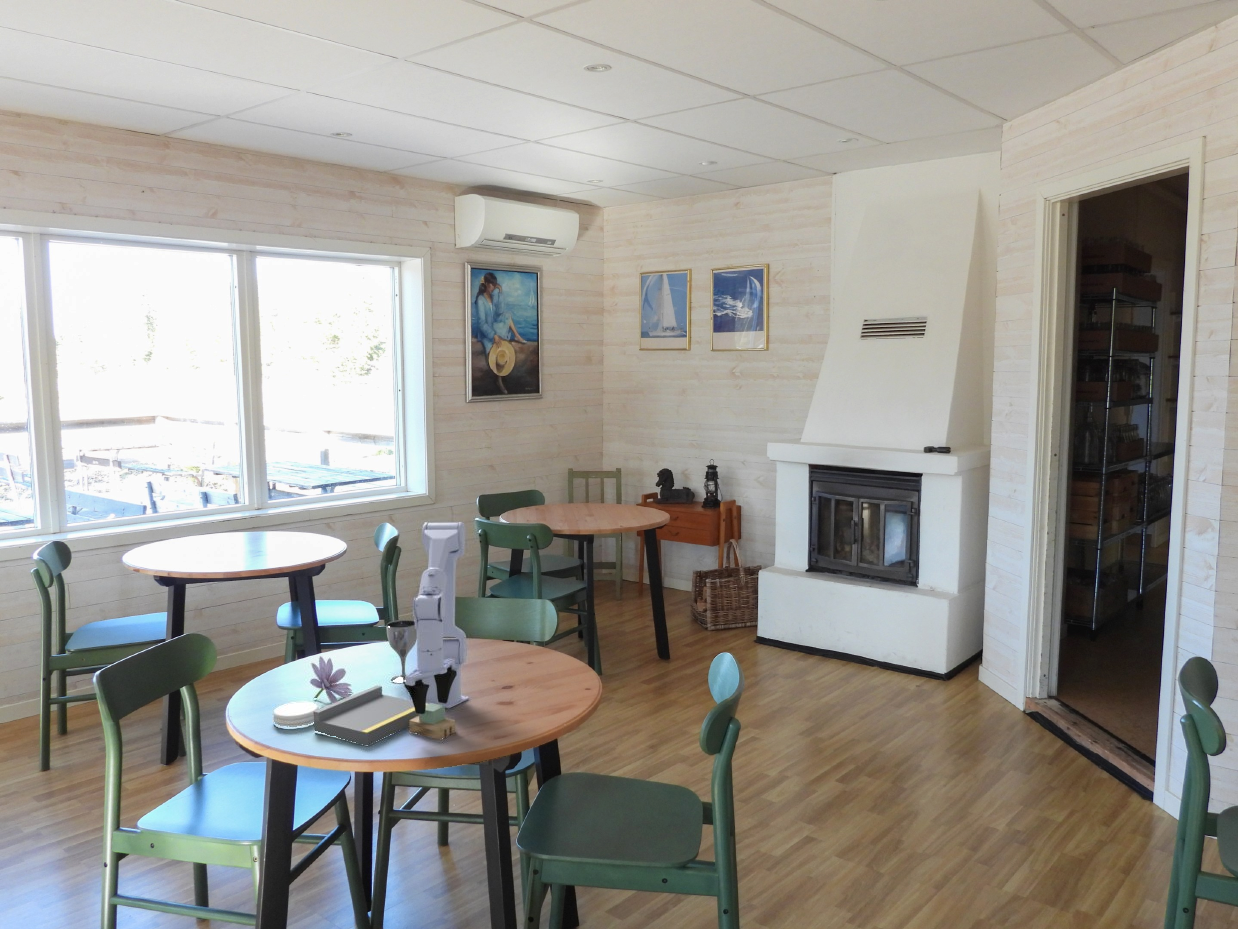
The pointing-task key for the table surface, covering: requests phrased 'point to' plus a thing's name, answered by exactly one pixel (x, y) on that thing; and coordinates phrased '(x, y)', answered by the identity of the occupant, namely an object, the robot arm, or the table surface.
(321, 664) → the water lily
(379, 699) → the dock
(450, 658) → the robot arm
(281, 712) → the white round disc
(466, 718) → the table surface
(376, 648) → the table surface
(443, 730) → the pallet
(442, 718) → the green block
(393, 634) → the silver goblet
